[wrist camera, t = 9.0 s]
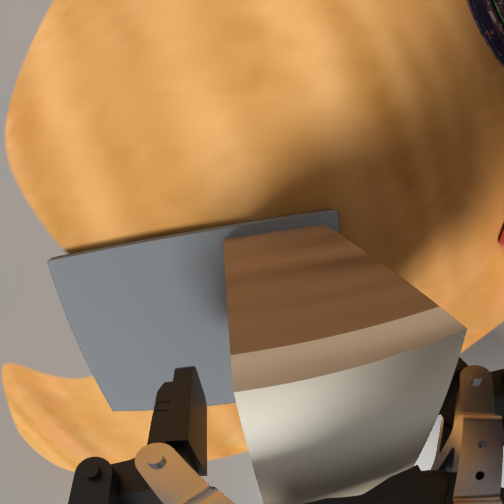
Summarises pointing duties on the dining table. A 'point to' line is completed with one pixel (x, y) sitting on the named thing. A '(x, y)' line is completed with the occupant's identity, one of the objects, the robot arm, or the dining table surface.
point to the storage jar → (490, 24)
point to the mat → (158, 309)
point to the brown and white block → (331, 363)
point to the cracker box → (502, 239)
